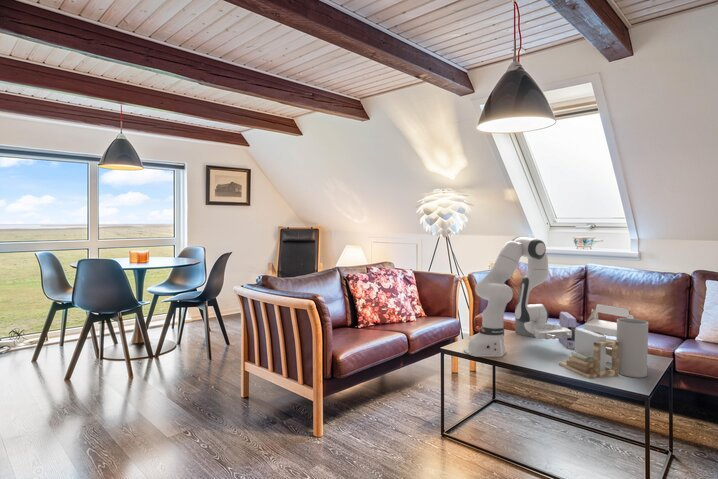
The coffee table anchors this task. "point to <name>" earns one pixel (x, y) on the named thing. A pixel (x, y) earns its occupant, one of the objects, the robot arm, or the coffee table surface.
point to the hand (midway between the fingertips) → (562, 337)
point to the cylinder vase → (632, 347)
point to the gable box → (606, 323)
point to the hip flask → (521, 328)
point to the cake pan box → (568, 323)
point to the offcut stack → (581, 362)
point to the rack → (596, 361)
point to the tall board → (590, 344)
